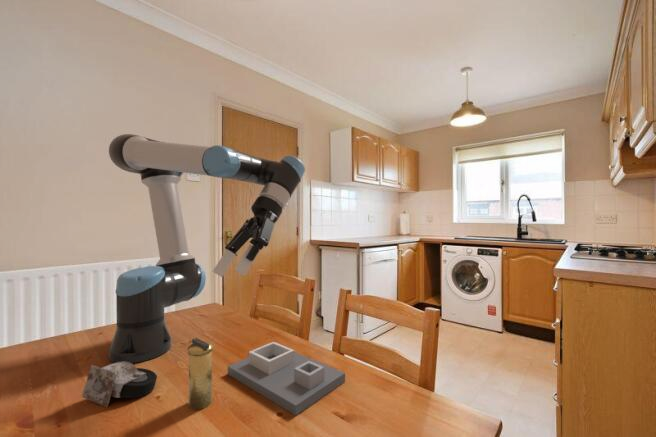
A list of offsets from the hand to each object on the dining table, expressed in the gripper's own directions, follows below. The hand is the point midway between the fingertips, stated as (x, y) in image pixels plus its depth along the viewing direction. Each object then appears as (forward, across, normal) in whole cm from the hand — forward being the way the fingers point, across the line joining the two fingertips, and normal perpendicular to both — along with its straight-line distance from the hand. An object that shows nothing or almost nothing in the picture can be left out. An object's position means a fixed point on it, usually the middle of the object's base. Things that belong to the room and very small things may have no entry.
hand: (227, 273), depth 71 cm
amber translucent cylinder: (+25, 0, -10) cm, 27 cm away
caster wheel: (+30, +14, +1) cm, 34 cm away
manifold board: (+14, -3, -25) cm, 29 cm away
